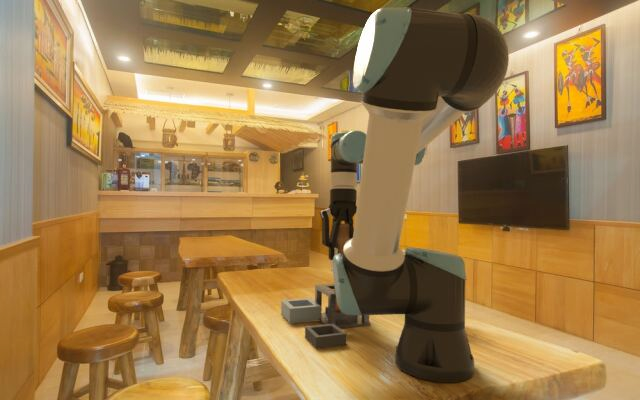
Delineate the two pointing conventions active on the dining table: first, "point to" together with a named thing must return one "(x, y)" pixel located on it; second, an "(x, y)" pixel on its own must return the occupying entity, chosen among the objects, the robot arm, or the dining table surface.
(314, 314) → the grey square holder
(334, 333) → the stand
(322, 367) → the dining table surface
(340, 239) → the bar
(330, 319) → the guard frame
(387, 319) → the dining table surface
